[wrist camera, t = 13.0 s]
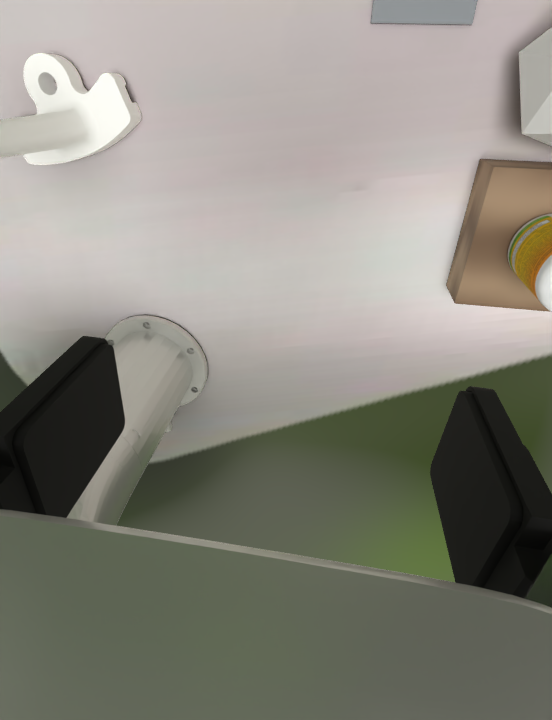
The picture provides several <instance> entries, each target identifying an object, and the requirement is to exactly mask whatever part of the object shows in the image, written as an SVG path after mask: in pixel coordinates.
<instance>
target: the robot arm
mask: <svg viewBox="0 0 552 720" xmlns="http://www.w3.org/2000/svg"><path fill="white" fill-rule="evenodd" d="M207 375H208V368H207V362H206V358H205V355H204V353H203V351H202V349H201V347H200V346H199V344H198V343H197V342H196V341H195V339H194V338H193V337H192V336H191V335H190V334H189V333H188V332H187V331H185V330H184V329H182V328H181V327H180V326H178V325H177V324H174V323H172V322H170V321H168V320H166V319H163V318H159V317H155V316H148V315H141V316H133V317H129V318H126V319H124V320H122V321H120V322H119V323H118V324H116V325H115V326H114V327H113V328H112V329H111V330H110V332H109V333H108V334H107V336H106V338H105V339H103V338H96V337H88V336H83V337H81V338H80V339H79V340H78V341H77V342H76V343H74V344H73V345H72V346H71V347H70V348H69V349H68V350H67V351H66V352H65V353H64V354H63V355H62V356H60V357H59V358H58V359H57V360H56V361H55V362H54V363H53V364H52V365H51V366H50V367H49V368H47V369H46V370H45V371H44V372H43V373H42V374H41V375H40V376H39V377H38V378H37V379H36V380H34V381H33V382H32V383H31V384H30V385H29V386H28V387H27V388H26V389H25V390H24V391H23V392H22V393H21V394H19V395H18V396H17V397H16V398H15V399H14V400H13V401H12V402H11V403H10V404H9V405H7V406H6V407H5V408H4V409H3V410H2V411H1V412H0V720H552V494H551V492H550V490H549V488H548V486H547V485H546V483H545V481H544V479H543V477H542V475H541V473H540V471H539V470H538V467H537V466H536V464H535V462H534V460H533V458H532V456H531V454H530V452H529V451H528V449H527V448H526V447H525V446H524V445H523V444H522V442H521V440H520V438H519V436H518V434H517V432H516V430H515V428H514V426H513V425H512V423H511V421H510V419H509V417H508V415H507V413H506V411H505V409H504V407H503V406H502V404H501V402H500V400H499V398H498V396H497V394H496V392H495V391H494V390H493V389H486V388H479V387H471V386H470V387H468V388H467V389H466V391H460V392H459V393H458V395H457V398H456V401H455V403H454V406H453V409H452V411H451V414H450V416H449V419H448V422H447V424H446V427H445V429H444V432H443V435H442V437H441V440H440V443H439V445H438V448H437V451H436V453H435V456H434V459H433V461H432V464H431V471H430V475H431V480H432V485H433V489H434V493H435V497H436V501H437V506H438V510H439V514H440V518H441V522H442V527H443V531H444V535H445V540H446V544H447V548H448V552H449V557H450V560H451V565H452V569H453V574H454V577H455V582H456V583H454V582H449V581H444V580H438V579H433V578H427V577H422V576H417V575H411V574H406V573H400V572H394V571H388V570H382V569H376V568H371V567H365V566H359V565H353V564H347V563H341V562H335V561H329V560H323V559H317V558H312V557H306V556H299V555H293V554H288V553H282V552H276V551H269V550H263V549H257V548H251V547H244V546H238V545H233V544H226V543H221V542H214V541H208V540H202V539H196V538H190V537H184V536H177V535H171V534H165V533H159V532H152V531H146V530H140V529H133V528H127V527H121V526H116V524H117V522H118V520H119V518H120V516H121V513H122V512H123V510H124V507H125V506H126V503H127V502H128V500H129V498H130V496H131V494H132V492H133V490H134V488H135V486H136V485H137V483H138V481H139V479H140V477H141V476H142V474H143V472H144V470H145V468H146V466H147V464H148V463H149V461H150V459H151V457H152V455H153V453H154V451H155V450H156V448H157V446H158V444H159V442H160V440H161V438H162V436H163V435H164V433H166V432H170V431H171V430H172V423H171V420H172V418H173V416H174V414H175V412H176V410H177V409H178V407H180V406H183V405H186V404H188V403H190V402H191V401H193V400H194V399H195V398H196V397H197V396H198V395H199V394H200V393H201V391H202V389H203V388H204V385H205V383H206V380H207Z"/></svg>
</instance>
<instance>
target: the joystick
mask: <svg viewBox="0 0 552 720" xmlns="http://www.w3.org/2000/svg"><path fill="white" fill-rule="evenodd" d="M54 80H55V81H56V84H57V88H56V86H55V82H54ZM24 82H25V86H26V89H27V91H28V93H29V95H30V96H31V98H32V99H33V101H34V102H35V104H36V108H37V113H36V115H31V116H24V117H16V118H9V119H4V120H0V158H5V157H11V156H17V155H23V156H24V158H25V160H26V161H27V162H28V163H30V164H32V165H50V164H59V163H65V162H69V161H73V160H77V159H80V158H84V157H88V156H91V155H93V154H96V153H99V152H101V151H103V150H105V149H107V148H109V147H110V146H112V145H114V144H115V143H117V142H118V141H120V140H121V139H122V138H124V137H125V136H126V135H127V134H128V133H130V132H131V131H132V130H133V129H134V128H135V127H136V126H137V125H138V123H139V122H140V121H141V118H142V115H141V112H140V109H139V107H138V105H137V102H135V103H132V102H131V99H130V97H129V95H128V92H127V90H126V88H125V86H126V82H125V80H124V78H123V77H122V76H121V75H120V74H116V73H103V74H102V75H101V76H100V78H99V79H98V81H97V82H96V83H95V85H94V86H93V87H92V88H91V89H90V91H89V92H88V91H87V90H86V89H85V87H84V86H83V83H82V80H81V77H80V75H79V73H78V71H77V70H76V68H75V67H74V66H73V64H72V63H71V62H70V61H68V60H67V59H66V58H64V57H62V56H59V55H54V54H44V53H37V54H34V55H32V56H31V57H29V58H28V60H27V61H26V63H25V66H24Z"/></svg>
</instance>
